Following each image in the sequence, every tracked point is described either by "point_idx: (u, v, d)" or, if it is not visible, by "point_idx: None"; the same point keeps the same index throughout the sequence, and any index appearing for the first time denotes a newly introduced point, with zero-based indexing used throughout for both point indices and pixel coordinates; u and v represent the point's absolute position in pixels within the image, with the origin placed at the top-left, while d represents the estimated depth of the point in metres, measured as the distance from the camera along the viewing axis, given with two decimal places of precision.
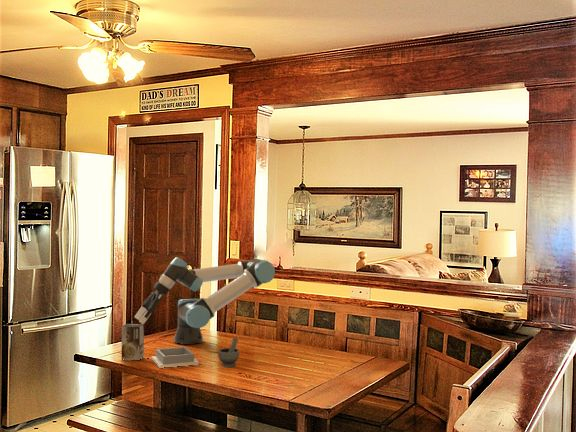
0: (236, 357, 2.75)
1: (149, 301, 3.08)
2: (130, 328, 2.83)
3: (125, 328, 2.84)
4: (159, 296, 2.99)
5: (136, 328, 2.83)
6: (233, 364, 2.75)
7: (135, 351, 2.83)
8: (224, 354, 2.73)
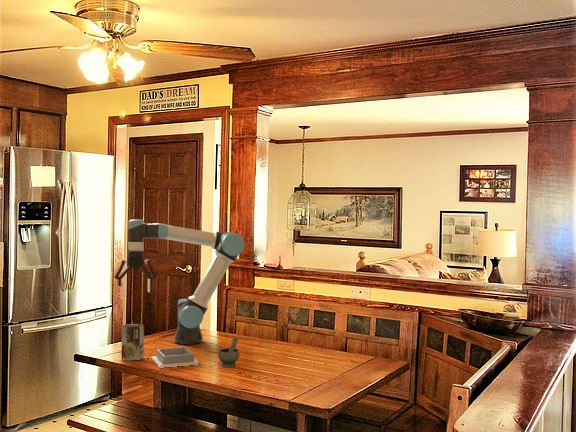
0: (236, 357, 2.74)
1: None
2: (130, 328, 2.83)
3: (125, 328, 2.84)
4: (121, 262, 3.04)
5: (136, 328, 2.83)
6: (233, 364, 2.75)
7: (135, 351, 2.83)
8: (224, 354, 2.73)
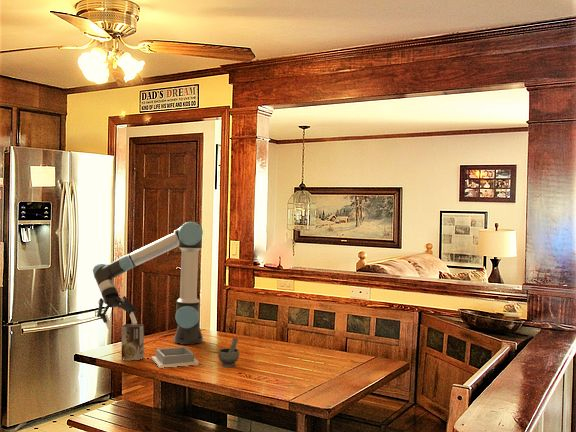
0: (236, 357, 2.74)
1: (123, 307, 3.00)
2: (130, 328, 2.83)
3: (125, 328, 2.84)
4: (99, 301, 2.95)
5: (136, 328, 2.83)
6: (233, 364, 2.75)
7: (135, 351, 2.83)
8: (224, 354, 2.73)
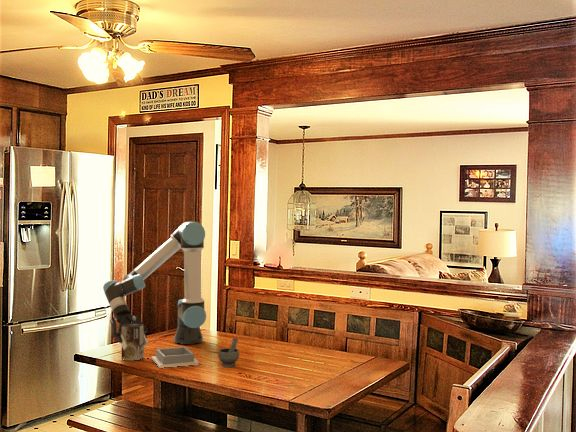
0: (236, 357, 2.75)
1: None
2: (130, 328, 2.83)
3: (125, 328, 2.84)
4: (111, 321, 2.88)
5: (136, 328, 2.83)
6: (233, 364, 2.75)
7: (135, 351, 2.83)
8: (224, 354, 2.73)
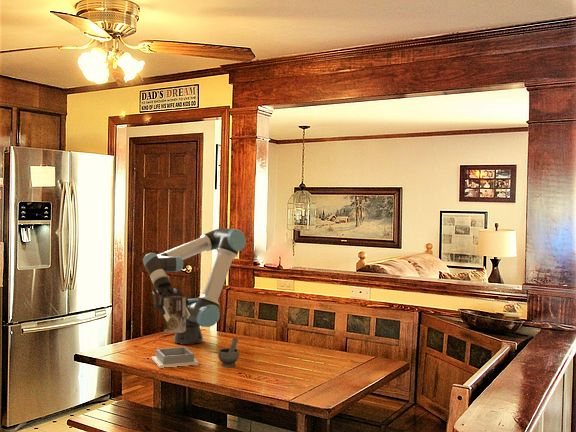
0: (236, 357, 2.74)
1: None
2: (173, 299, 2.78)
3: (168, 300, 2.79)
4: (153, 293, 2.83)
5: (179, 299, 2.78)
6: (233, 364, 2.75)
7: (178, 323, 2.78)
8: (224, 354, 2.73)
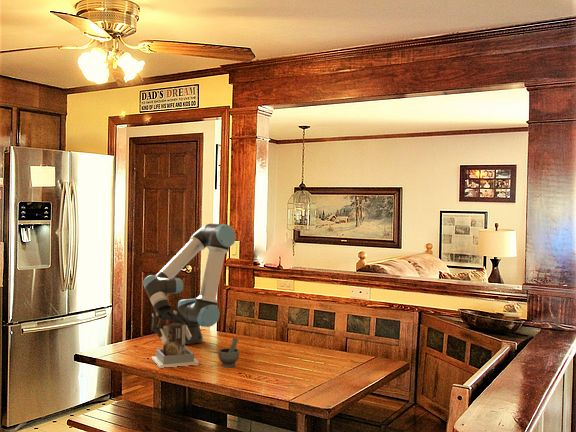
0: (236, 357, 2.74)
1: (176, 321, 2.88)
2: (172, 327, 2.78)
3: (167, 328, 2.79)
4: (152, 315, 2.83)
5: (178, 327, 2.78)
6: (233, 364, 2.75)
7: (177, 350, 2.78)
8: (224, 354, 2.73)
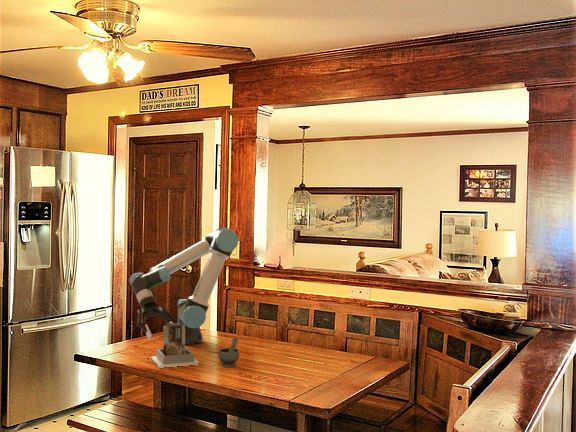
0: (236, 357, 2.74)
1: (161, 317, 2.98)
2: (172, 327, 2.78)
3: (167, 328, 2.79)
4: (138, 311, 2.92)
5: (178, 327, 2.78)
6: (233, 364, 2.75)
7: (177, 350, 2.78)
8: (224, 354, 2.73)
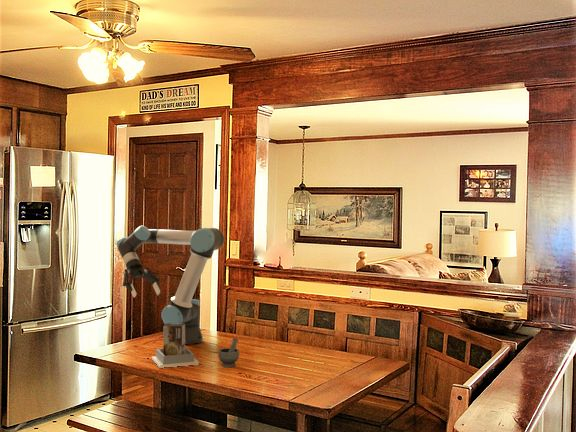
0: (236, 357, 2.74)
1: (146, 278, 3.15)
2: (172, 327, 2.78)
3: (167, 328, 2.79)
4: (124, 272, 3.10)
5: (178, 327, 2.78)
6: (233, 364, 2.75)
7: (177, 350, 2.78)
8: (224, 354, 2.73)
